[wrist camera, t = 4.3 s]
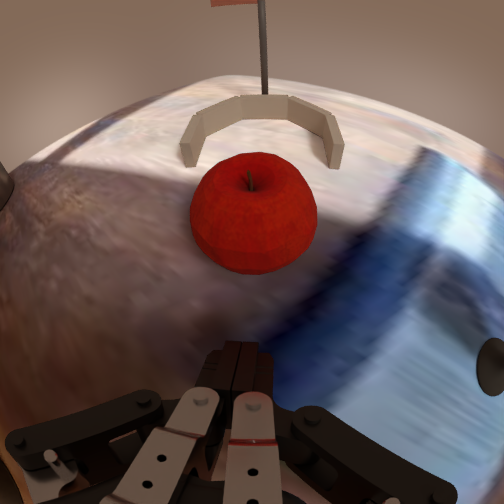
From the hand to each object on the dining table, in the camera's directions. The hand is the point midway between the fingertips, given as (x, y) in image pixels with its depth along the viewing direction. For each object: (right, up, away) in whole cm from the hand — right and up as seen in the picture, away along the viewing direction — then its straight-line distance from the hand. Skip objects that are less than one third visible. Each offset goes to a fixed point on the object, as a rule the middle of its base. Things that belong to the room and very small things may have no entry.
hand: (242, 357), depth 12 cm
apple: (+1, +5, +8) cm, 10 cm away
